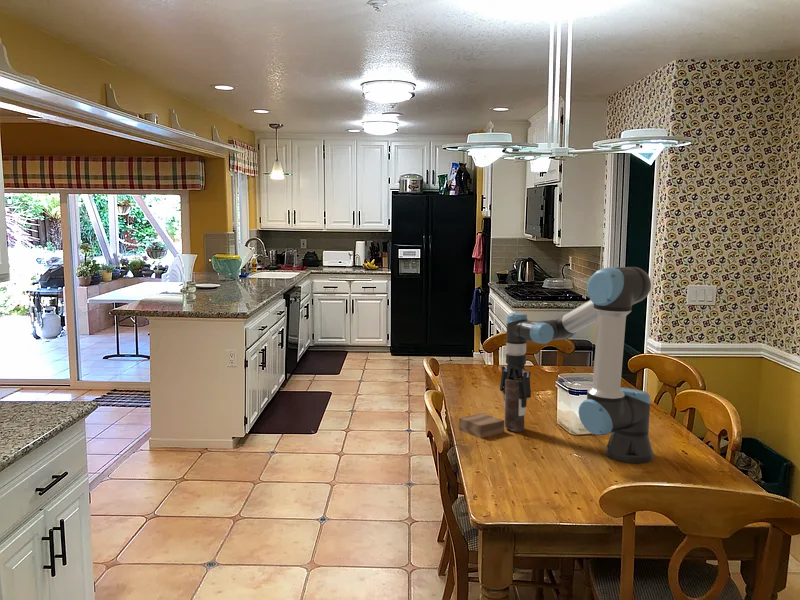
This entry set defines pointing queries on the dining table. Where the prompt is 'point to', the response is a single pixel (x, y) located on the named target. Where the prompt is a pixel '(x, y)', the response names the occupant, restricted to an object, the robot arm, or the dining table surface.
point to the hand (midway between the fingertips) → (514, 412)
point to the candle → (513, 406)
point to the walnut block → (481, 425)
